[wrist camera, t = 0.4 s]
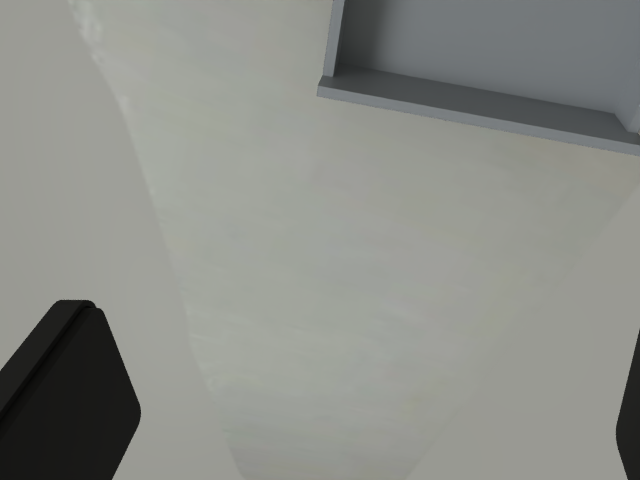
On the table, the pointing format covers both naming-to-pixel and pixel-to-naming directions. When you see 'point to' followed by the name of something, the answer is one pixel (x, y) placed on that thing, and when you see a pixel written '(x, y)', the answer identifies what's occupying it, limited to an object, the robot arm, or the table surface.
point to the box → (494, 64)
